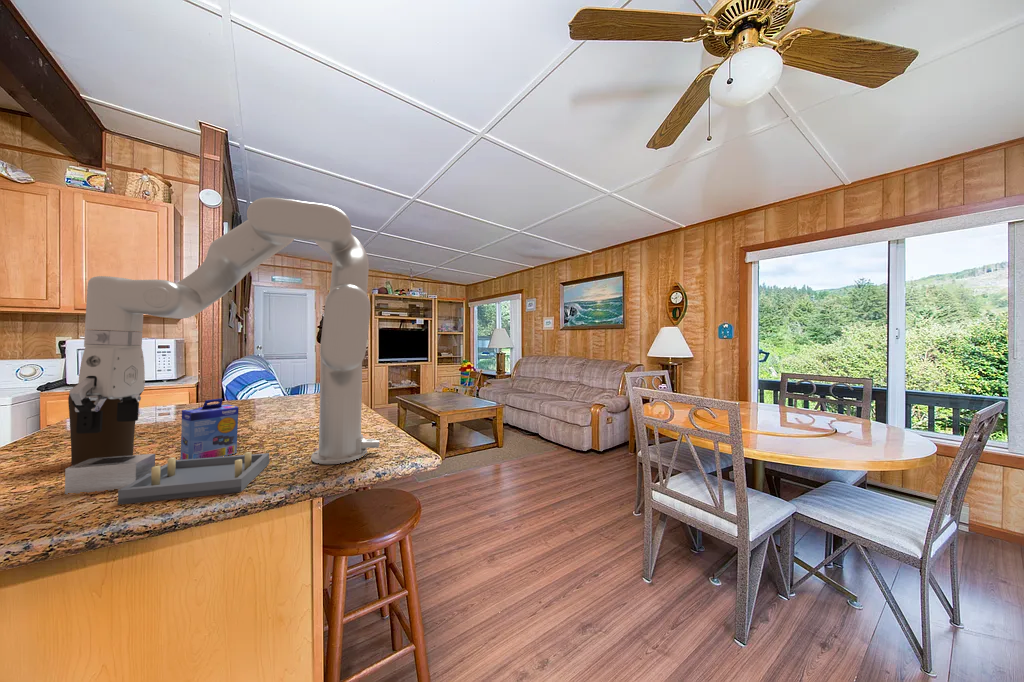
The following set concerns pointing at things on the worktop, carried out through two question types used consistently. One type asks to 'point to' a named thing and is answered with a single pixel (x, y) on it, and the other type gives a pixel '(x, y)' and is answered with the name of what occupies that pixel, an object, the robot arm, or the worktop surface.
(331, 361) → the robot arm
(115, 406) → the olive oil
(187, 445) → the ink cartridge box
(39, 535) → the worktop surface
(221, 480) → the pin tray
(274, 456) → the worktop surface
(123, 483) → the grey rectangular block
